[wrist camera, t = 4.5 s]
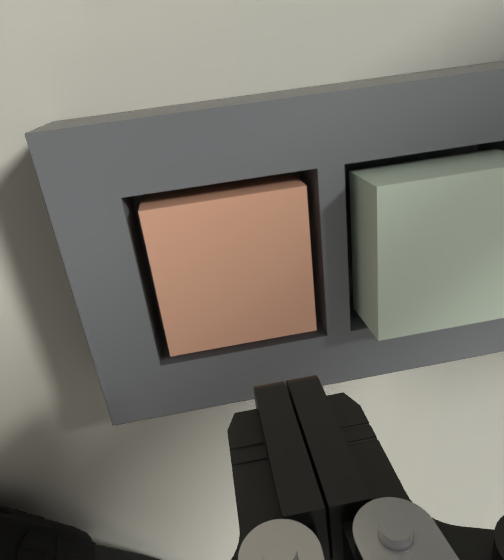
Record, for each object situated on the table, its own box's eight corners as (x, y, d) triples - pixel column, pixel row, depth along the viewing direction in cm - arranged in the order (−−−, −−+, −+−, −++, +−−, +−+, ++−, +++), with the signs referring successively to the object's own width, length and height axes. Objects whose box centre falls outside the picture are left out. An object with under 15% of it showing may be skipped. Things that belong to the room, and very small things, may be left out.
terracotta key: (289, 170, 20) (306, 185, 17) (300, 300, 22) (316, 330, 20) (142, 192, 19) (138, 211, 17) (170, 323, 22) (170, 356, 19)
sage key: (495, 148, 19) (545, 160, 16) (483, 285, 21) (524, 314, 19) (349, 170, 18) (376, 186, 16) (353, 308, 21) (378, 341, 18)
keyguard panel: (692, 35, 21) (798, 28, 18) (635, 278, 26) (709, 312, 23) (53, 121, 19) (24, 133, 15) (122, 371, 24) (112, 425, 20)
